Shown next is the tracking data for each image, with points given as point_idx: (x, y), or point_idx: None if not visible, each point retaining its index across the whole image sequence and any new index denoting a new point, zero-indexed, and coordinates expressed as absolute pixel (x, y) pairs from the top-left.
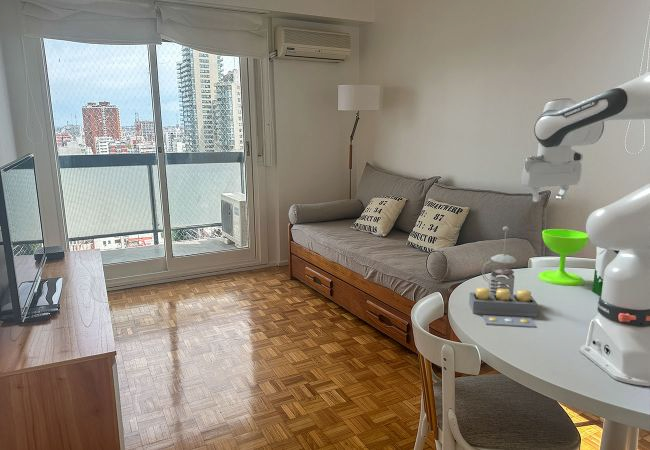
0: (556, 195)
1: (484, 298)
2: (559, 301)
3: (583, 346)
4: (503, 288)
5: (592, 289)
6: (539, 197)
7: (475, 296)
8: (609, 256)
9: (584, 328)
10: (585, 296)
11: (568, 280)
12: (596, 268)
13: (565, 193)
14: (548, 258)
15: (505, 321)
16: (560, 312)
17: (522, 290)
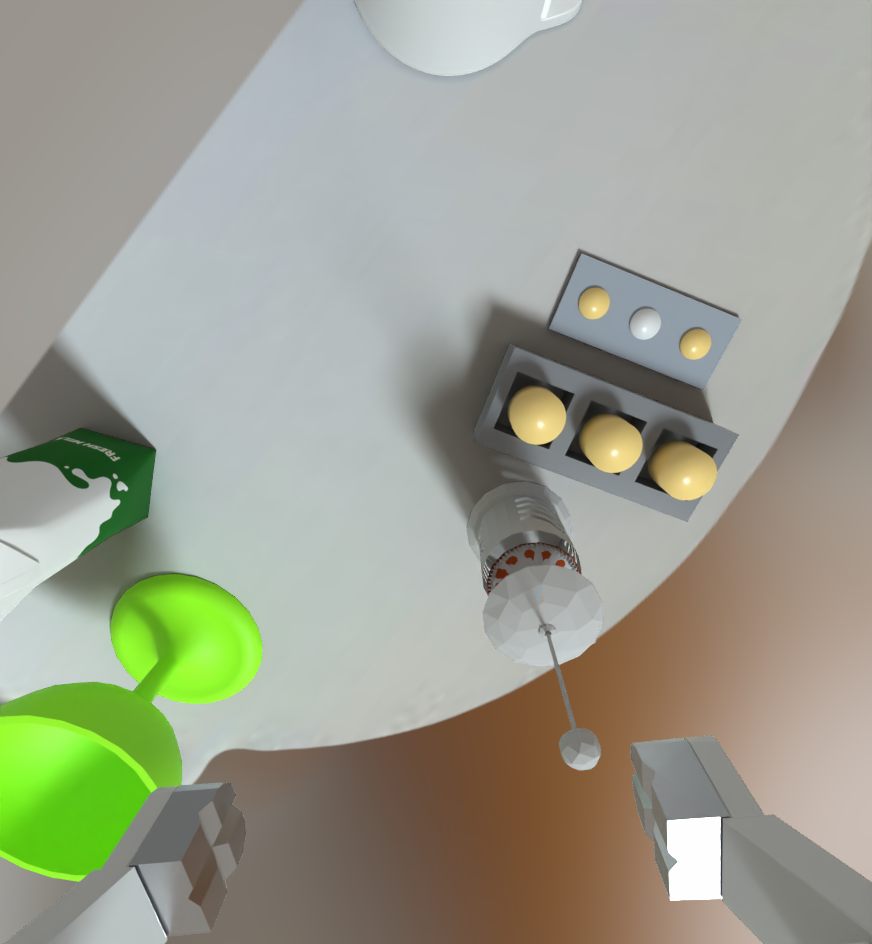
0: (225, 894)
1: (686, 443)
2: (331, 455)
3: (566, 2)
4: (490, 567)
5: (145, 516)
6: (692, 795)
7: None
8: (11, 507)
9: (412, 206)
10: (205, 477)
11: (180, 606)
12: (92, 534)
13: (80, 881)
14: None
15: (662, 318)
16: (397, 362)
17: (534, 433)
